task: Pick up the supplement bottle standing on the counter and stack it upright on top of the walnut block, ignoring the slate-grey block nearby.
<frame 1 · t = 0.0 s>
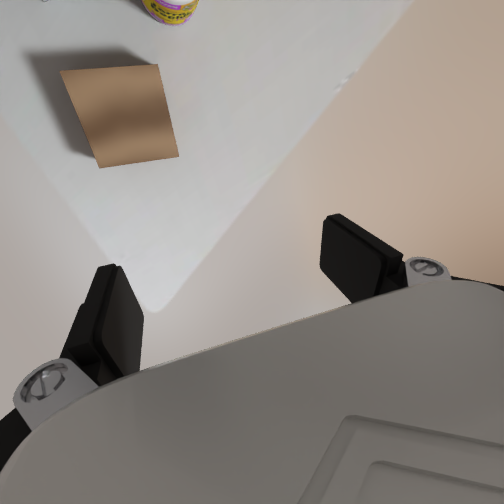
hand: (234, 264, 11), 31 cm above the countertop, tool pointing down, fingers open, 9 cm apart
walnut block: (130, 117, 33), on the countertop
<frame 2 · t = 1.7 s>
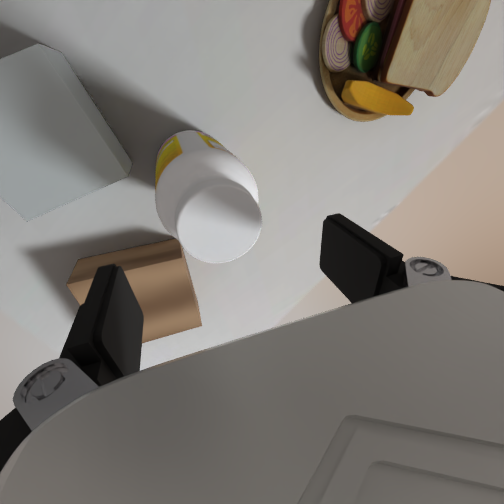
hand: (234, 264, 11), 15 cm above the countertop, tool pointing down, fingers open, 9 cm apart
walnut block: (146, 283, 28), on the countertop
slate block: (53, 135, 19), on the countertop
toy sandwich meal: (378, 40, 23), on the countertop
supplement bottle: (193, 167, 23), on the countertop
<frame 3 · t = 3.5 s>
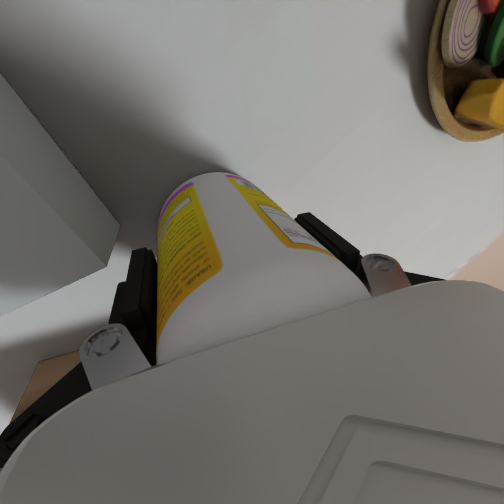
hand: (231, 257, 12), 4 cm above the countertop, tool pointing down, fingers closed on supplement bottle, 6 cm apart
walnut block: (143, 378, 20), on the countertop
supplement bottle: (216, 224, 15), on the countertop, touching gripper
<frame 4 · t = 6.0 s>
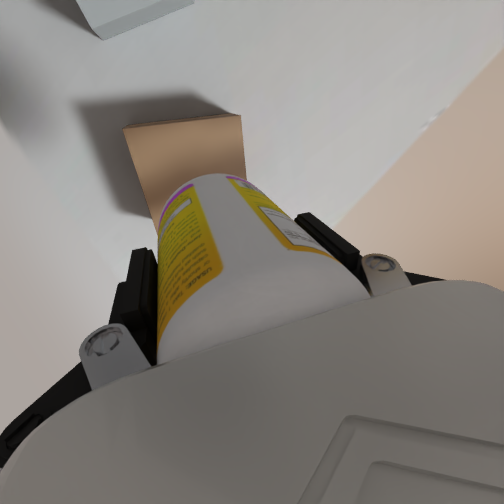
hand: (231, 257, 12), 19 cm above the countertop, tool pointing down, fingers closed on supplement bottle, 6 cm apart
walnut block: (192, 170, 27), on the countertop
supplement bottle: (216, 225, 15), point 15 cm above the countertop, touching gripper
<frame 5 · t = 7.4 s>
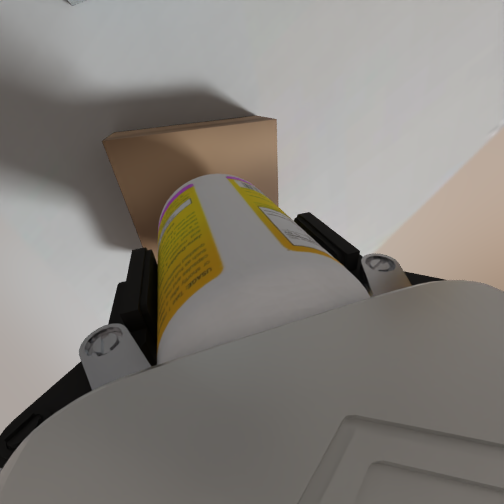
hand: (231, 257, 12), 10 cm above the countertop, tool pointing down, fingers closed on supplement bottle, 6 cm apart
walnut block: (202, 191, 20), on the countertop
supplement bottle: (216, 225, 15), point 6 cm above the countertop, touching gripper
when the fingers open (9 cm above the countertop, at t = 8.6 s): supplement bottle drops 1 cm, resting on walnut block.
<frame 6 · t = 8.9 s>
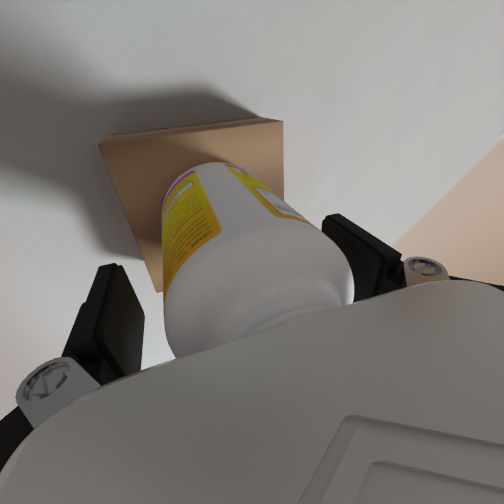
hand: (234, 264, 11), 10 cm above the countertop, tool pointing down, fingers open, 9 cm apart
walnut block: (204, 196, 19), on the countertop
supplement bottle: (215, 211, 16), point 4 cm above the countertop, touching walnut block
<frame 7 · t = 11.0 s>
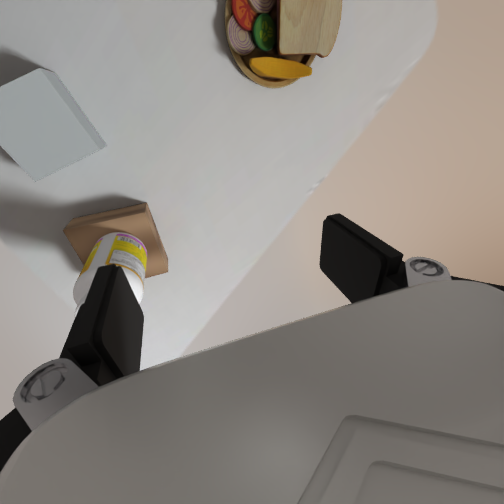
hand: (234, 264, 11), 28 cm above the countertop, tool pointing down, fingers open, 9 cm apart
walnut block: (124, 240, 38), on the countertop
slate block: (52, 127, 29), on the countertop
toy sandwich meal: (276, 24, 31), on the countertop
supplement bottle: (122, 251, 34), point 4 cm above the countertop, touching walnut block
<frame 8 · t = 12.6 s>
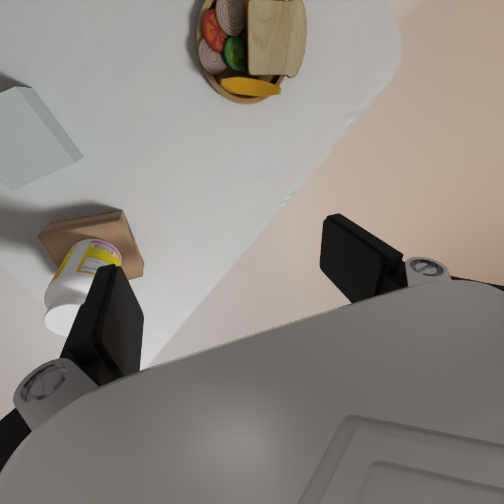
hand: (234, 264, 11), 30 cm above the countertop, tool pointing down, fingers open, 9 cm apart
walnut block: (101, 245, 39), on the countertop
slate block: (29, 138, 30), on the countertop
toy sandwich meal: (247, 45, 32), on the countertop
supplement bottle: (97, 256, 36), point 4 cm above the countertop, touching walnut block
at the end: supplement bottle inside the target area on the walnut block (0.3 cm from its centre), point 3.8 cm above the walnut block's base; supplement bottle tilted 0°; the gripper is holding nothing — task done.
